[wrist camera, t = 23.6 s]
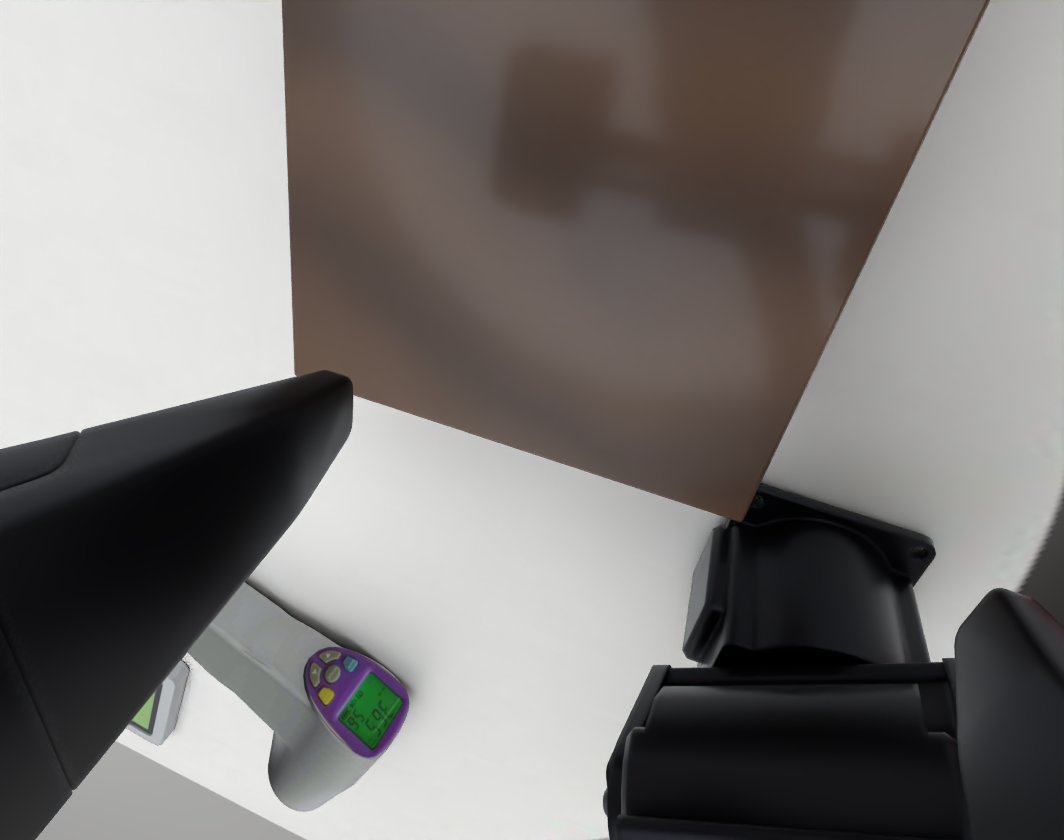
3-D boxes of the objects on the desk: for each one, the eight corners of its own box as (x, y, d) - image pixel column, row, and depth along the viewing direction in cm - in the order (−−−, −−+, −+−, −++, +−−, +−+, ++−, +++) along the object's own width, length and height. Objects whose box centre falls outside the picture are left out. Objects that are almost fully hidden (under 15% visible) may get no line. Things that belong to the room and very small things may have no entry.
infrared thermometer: (200, 522, 36) (427, 689, 36) (164, 631, 43) (353, 770, 43) (129, 579, 32) (381, 765, 32) (102, 687, 39) (309, 840, 39)
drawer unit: (441, -336, 15) (261, -519, 10) (1025, -253, 13) (1193, -423, 8) (400, 293, 24) (293, 376, 19) (749, 398, 22) (741, 524, 17)
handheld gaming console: (-41, 561, 41) (172, 685, 41) (-16, 544, 42) (190, 665, 43) (-30, 643, 47) (156, 752, 47) (-8, 626, 48) (173, 732, 48)
